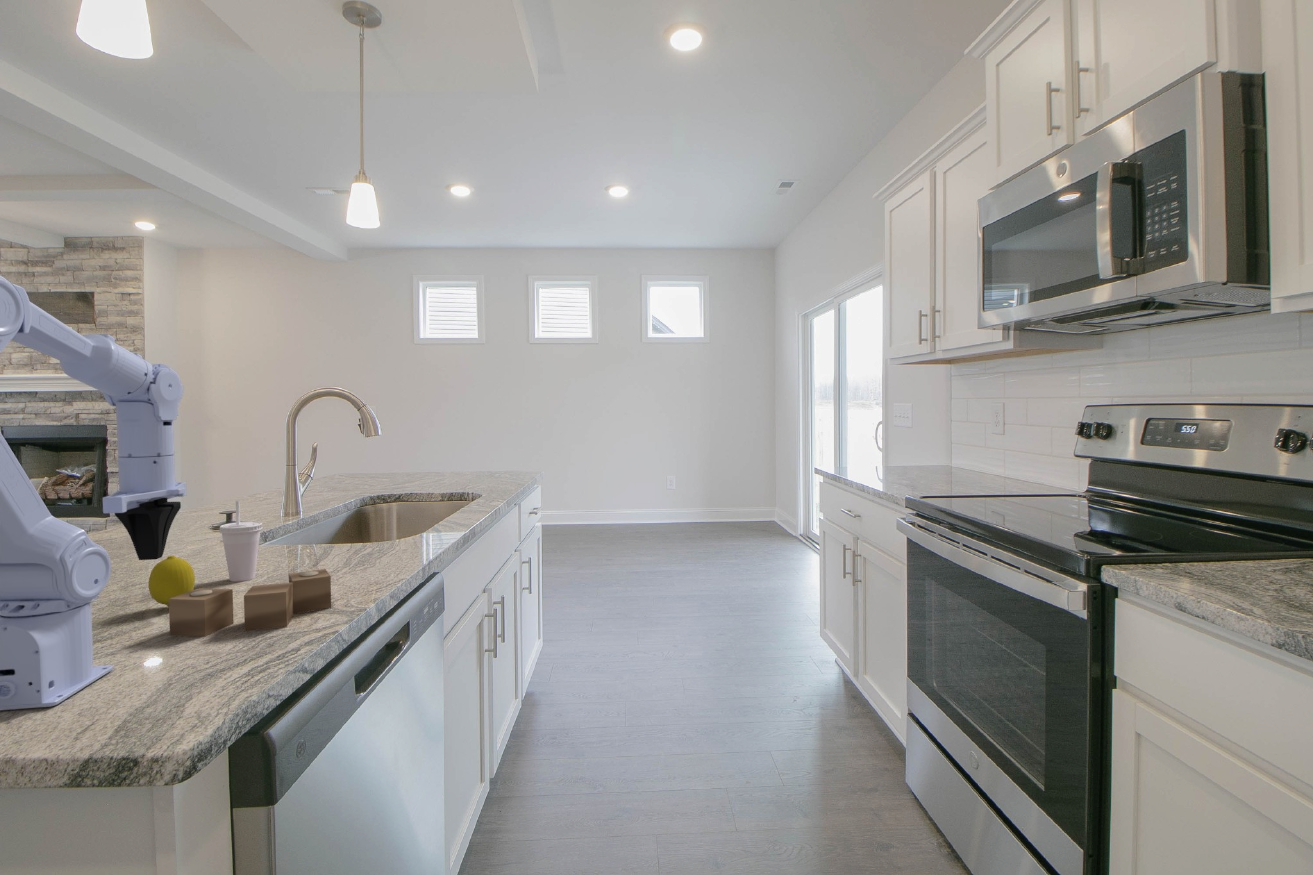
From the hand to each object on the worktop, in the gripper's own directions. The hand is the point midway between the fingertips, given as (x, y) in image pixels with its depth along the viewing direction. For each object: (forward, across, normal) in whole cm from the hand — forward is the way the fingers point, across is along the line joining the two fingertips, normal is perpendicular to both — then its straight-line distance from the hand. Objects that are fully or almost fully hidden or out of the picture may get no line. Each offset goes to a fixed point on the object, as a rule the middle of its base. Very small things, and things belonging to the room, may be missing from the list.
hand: (150, 558), depth 82 cm
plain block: (+11, +3, -13) cm, 17 cm away
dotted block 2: (+11, +10, -16) cm, 22 cm away
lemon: (+11, +13, +4) cm, 17 cm away
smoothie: (+11, +29, +1) cm, 31 cm away
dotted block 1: (+10, +2, -5) cm, 12 cm away
